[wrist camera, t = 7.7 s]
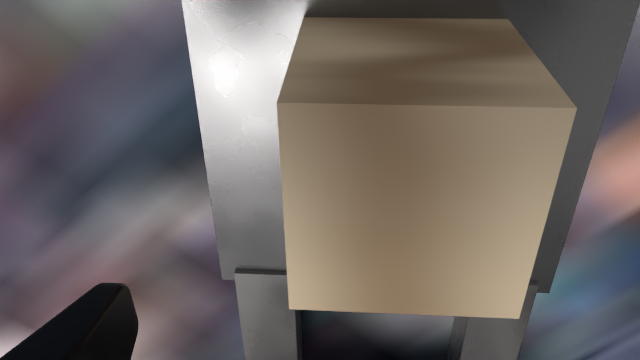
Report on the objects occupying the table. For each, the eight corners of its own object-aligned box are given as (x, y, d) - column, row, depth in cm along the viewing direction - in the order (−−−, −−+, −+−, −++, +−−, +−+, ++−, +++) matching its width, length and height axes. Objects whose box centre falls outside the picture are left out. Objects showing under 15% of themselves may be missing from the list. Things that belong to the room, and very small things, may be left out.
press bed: (633, -78, 13) (666, -67, 12) (484, 445, 25) (492, 482, 24) (189, -79, 14) (169, -68, 12) (254, 432, 26) (248, 467, 25)
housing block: (507, 19, 13) (577, 108, 9) (477, 189, 16) (518, 318, 12) (303, 17, 13) (276, 102, 9) (307, 184, 16) (289, 308, 12)
